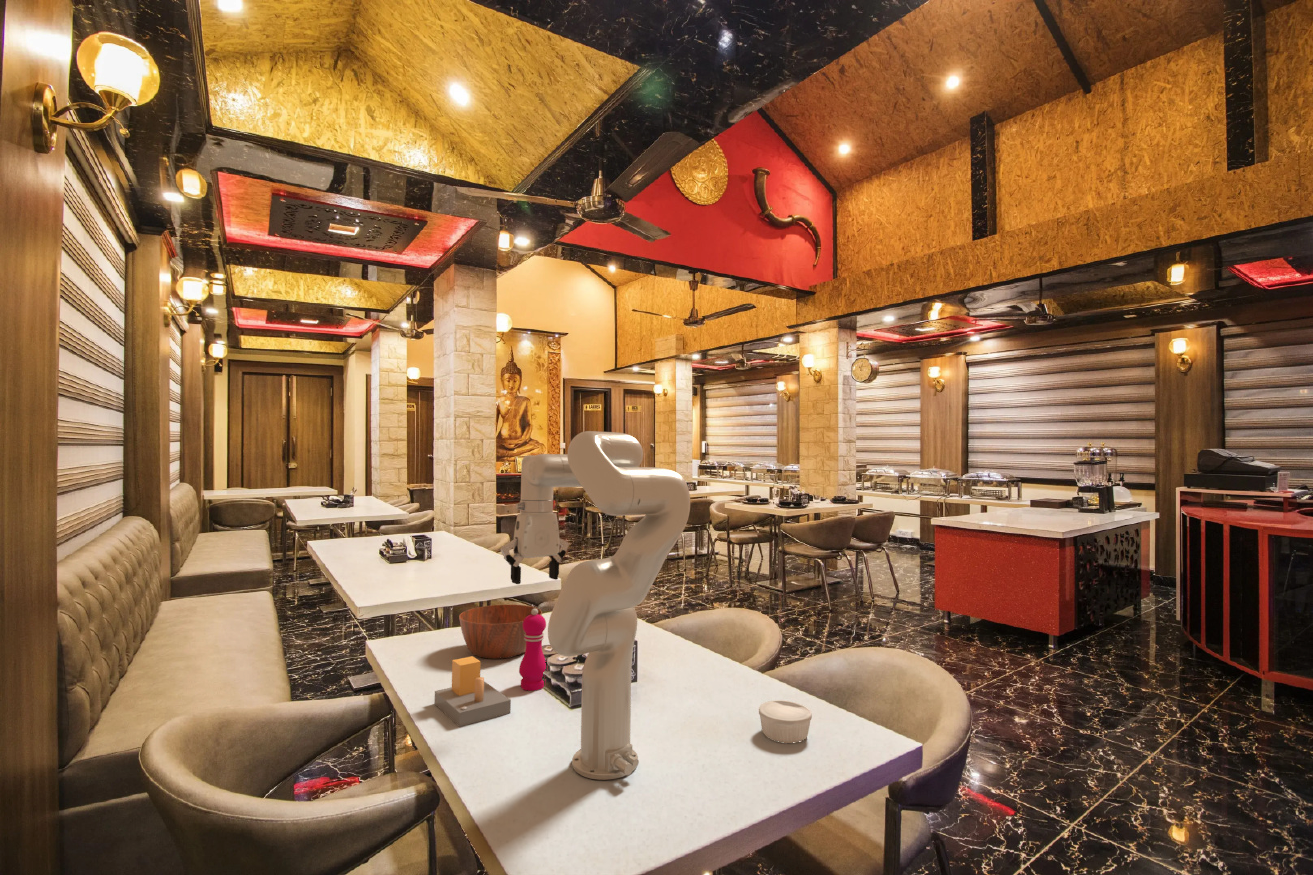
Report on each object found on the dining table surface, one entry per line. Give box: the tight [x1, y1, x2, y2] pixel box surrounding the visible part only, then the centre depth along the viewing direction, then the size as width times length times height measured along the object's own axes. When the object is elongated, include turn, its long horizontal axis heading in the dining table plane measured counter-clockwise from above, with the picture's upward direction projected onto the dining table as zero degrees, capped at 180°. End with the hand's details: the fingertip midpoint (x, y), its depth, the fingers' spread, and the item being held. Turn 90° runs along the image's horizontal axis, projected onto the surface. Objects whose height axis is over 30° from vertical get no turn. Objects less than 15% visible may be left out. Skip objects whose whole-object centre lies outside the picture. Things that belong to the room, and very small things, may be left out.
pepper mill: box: [518, 607, 547, 692], centre depth 155 cm, size 7×7×20 cm
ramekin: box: [758, 700, 813, 744], centre depth 128 cm, size 11×11×5 cm
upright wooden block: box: [451, 655, 482, 696], centre depth 143 cm, size 5×5×7 cm
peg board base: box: [434, 676, 512, 728], centre depth 140 cm, size 16×12×8 cm
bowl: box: [458, 604, 543, 660], centre depth 184 cm, size 25×25×11 cm
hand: (535, 580), depth 139 cm, fingers open, 9 cm apart
